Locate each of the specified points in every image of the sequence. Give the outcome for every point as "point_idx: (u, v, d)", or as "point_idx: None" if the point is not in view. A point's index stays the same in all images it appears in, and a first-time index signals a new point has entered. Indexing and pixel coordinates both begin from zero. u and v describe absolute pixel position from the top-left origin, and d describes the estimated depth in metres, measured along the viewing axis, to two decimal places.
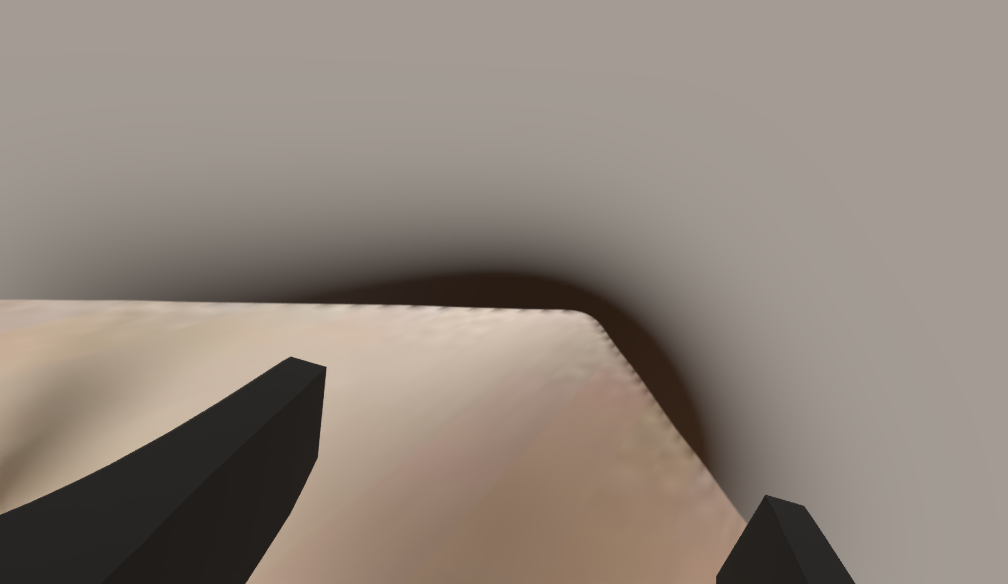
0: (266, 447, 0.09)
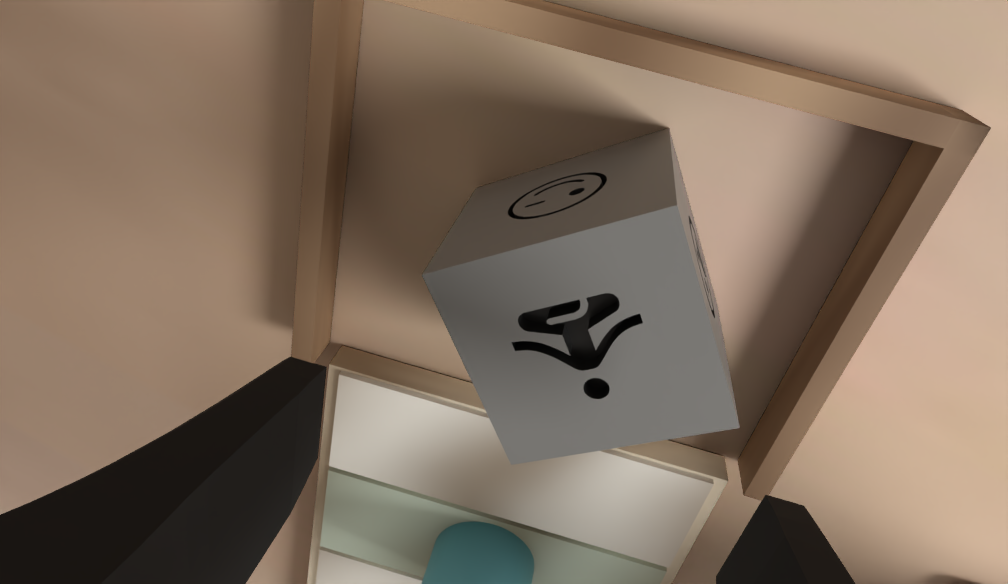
0: (266, 447, 0.09)
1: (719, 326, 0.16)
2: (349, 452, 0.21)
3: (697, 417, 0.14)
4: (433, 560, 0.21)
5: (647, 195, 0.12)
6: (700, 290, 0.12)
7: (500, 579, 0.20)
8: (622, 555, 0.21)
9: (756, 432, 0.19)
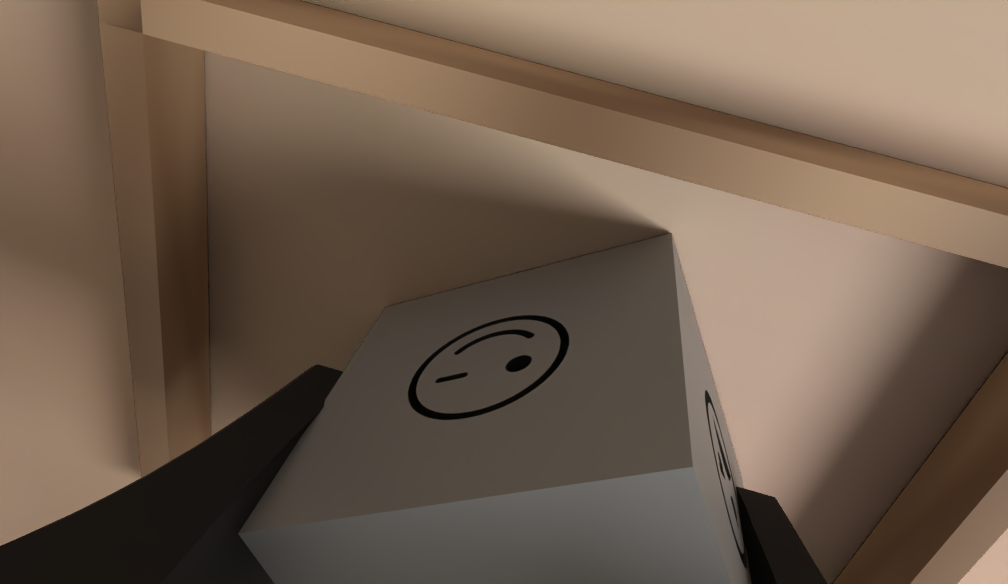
0: None
1: None
2: None
3: None
4: None
5: (636, 414, 0.07)
6: None
7: None
8: None
9: None
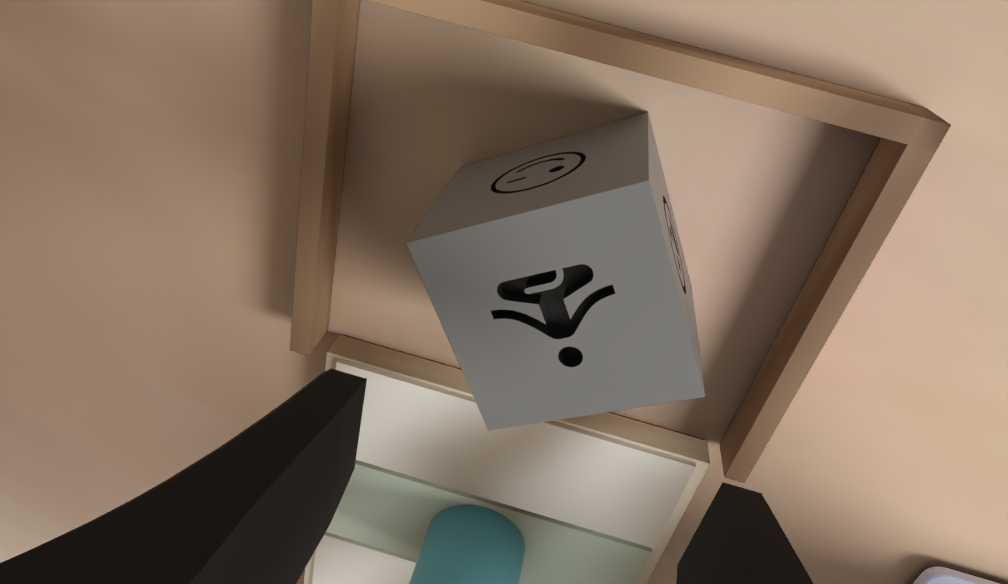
0: (313, 461, 0.09)
1: (691, 303, 0.17)
2: None
3: (665, 386, 0.14)
4: (427, 541, 0.22)
5: (622, 171, 0.13)
6: (670, 263, 0.13)
7: (492, 559, 0.21)
8: (609, 536, 0.22)
9: (737, 417, 0.20)
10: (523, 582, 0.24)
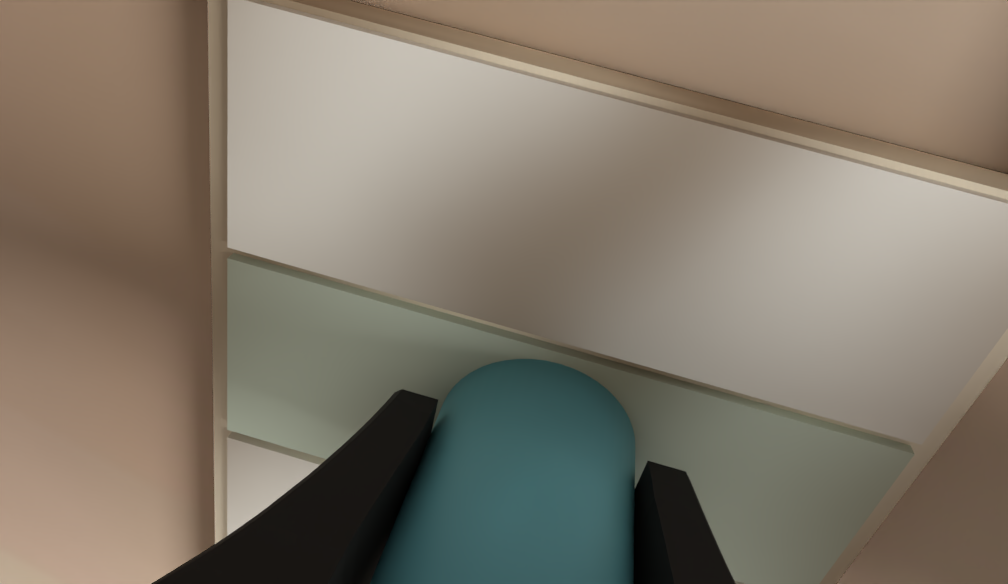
0: (396, 485, 0.09)
1: None
2: (265, 210, 0.10)
3: None
4: (437, 430, 0.10)
5: None
6: None
7: (585, 457, 0.09)
8: (821, 422, 0.11)
9: None
10: None
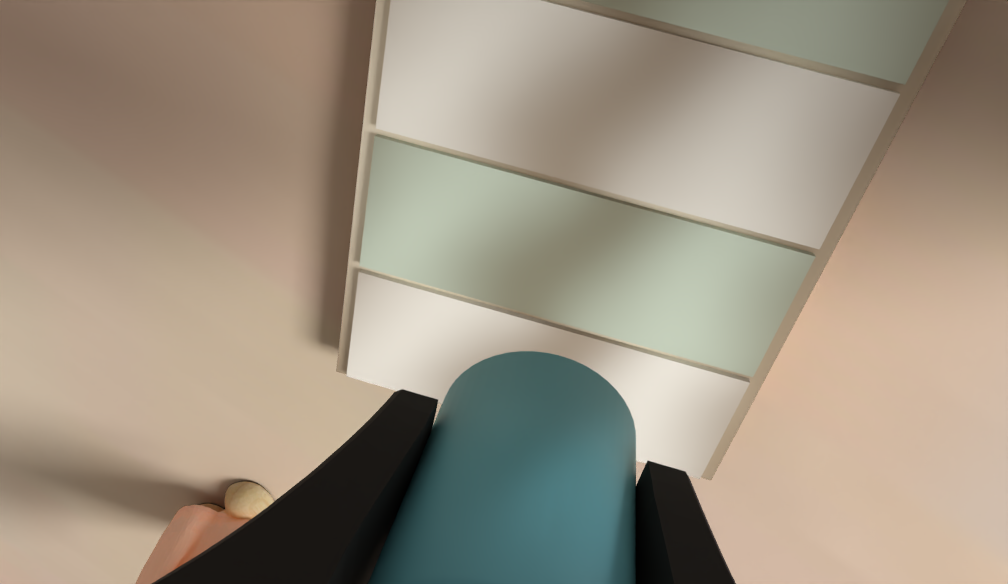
0: (396, 485, 0.09)
1: None
2: None
3: None
4: (440, 421, 0.10)
5: None
6: None
7: (587, 445, 0.09)
8: None
9: None
10: (747, 17, 0.14)
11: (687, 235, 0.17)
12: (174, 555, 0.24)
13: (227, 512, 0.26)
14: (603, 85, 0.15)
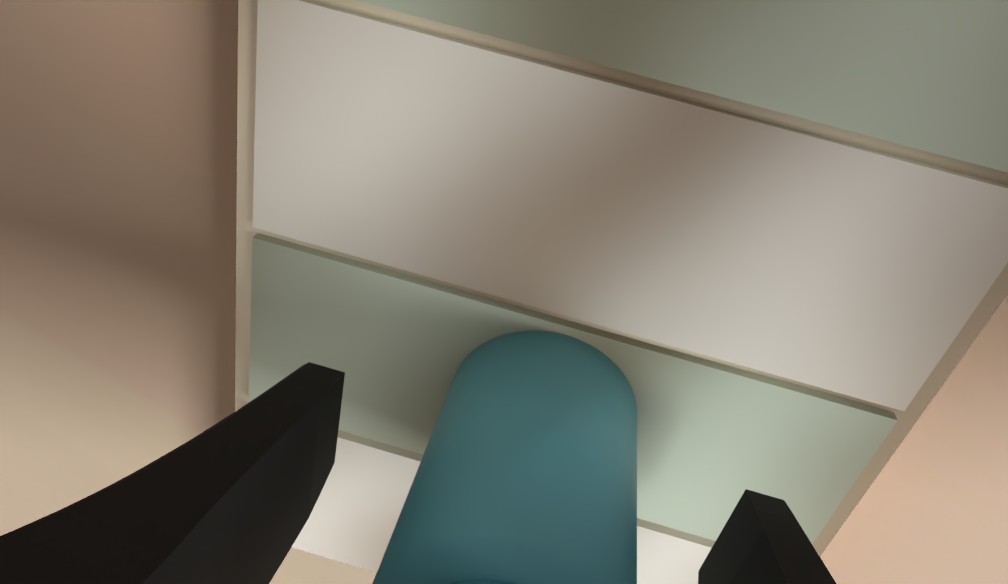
0: (287, 453, 0.09)
1: None
2: None
3: None
4: (451, 397, 0.11)
5: None
6: None
7: (592, 417, 0.10)
8: None
9: None
10: (810, 79, 0.09)
11: (708, 384, 0.11)
12: None
13: None
14: (582, 176, 0.10)
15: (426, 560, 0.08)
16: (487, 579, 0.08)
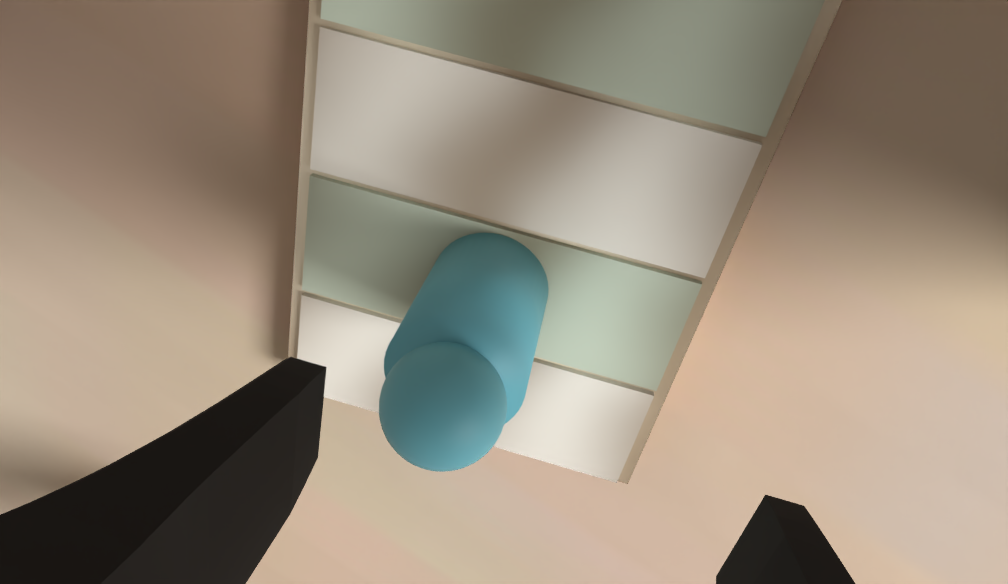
0: (266, 447, 0.09)
1: None
2: None
3: None
4: (431, 270, 0.18)
5: None
6: None
7: (510, 274, 0.17)
8: None
9: None
10: (626, 78, 0.16)
11: (589, 265, 0.19)
12: None
13: None
14: (506, 134, 0.17)
15: (414, 334, 0.15)
16: None
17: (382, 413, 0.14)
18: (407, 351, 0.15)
